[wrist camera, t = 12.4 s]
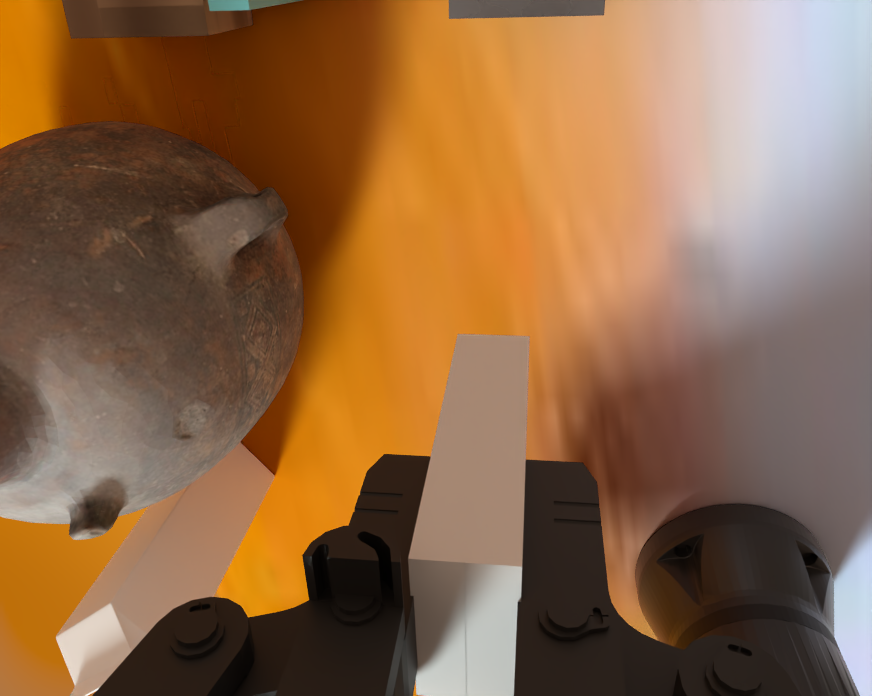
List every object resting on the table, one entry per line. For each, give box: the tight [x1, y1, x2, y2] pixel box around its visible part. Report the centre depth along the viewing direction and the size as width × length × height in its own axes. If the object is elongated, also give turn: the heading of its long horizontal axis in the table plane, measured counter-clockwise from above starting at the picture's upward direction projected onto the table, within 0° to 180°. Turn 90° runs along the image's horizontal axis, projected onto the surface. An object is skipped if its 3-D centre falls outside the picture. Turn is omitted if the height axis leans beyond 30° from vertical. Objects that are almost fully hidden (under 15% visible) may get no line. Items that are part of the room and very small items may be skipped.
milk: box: [56, 442, 275, 696], centre depth 53 cm, size 6×6×22 cm
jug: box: [0, 121, 304, 540], centre depth 40 cm, size 24×21×30 cm
